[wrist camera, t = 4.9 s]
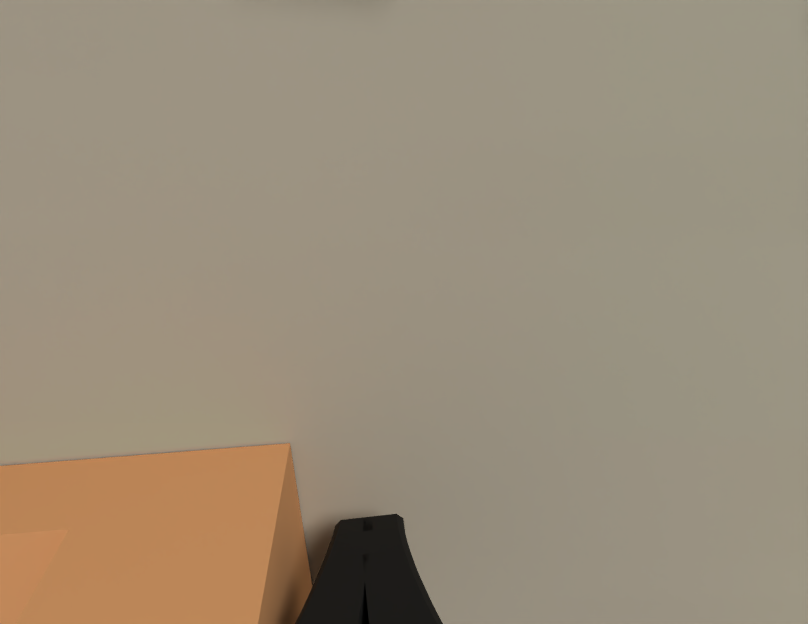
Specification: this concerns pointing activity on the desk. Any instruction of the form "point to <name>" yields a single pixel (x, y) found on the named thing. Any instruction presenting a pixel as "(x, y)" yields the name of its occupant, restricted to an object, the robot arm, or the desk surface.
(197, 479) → the doorstop wedge
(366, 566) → the robot arm
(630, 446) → the desk surface
